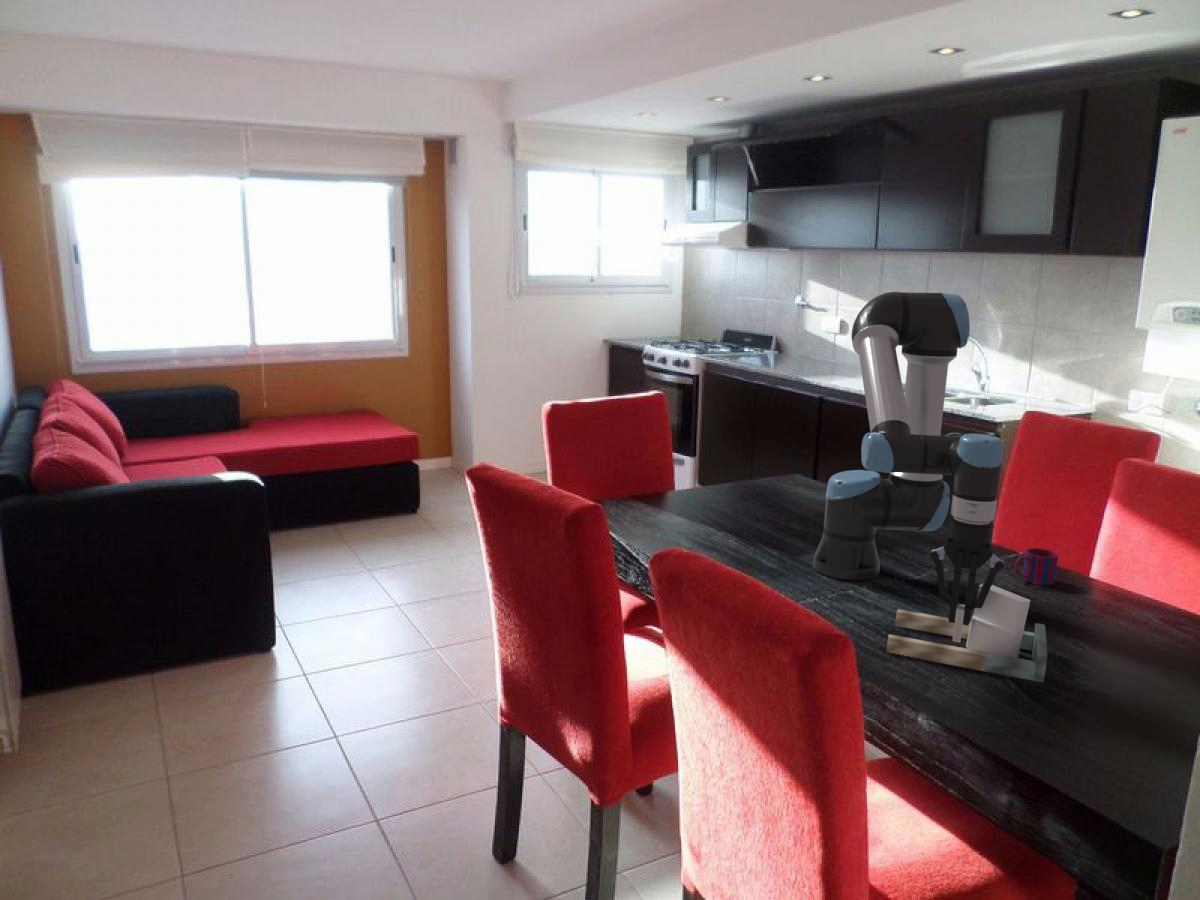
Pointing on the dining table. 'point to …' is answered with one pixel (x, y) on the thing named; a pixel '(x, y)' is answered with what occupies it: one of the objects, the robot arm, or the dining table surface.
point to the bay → (967, 656)
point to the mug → (1038, 566)
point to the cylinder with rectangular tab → (998, 623)
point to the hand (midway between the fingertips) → (956, 639)
